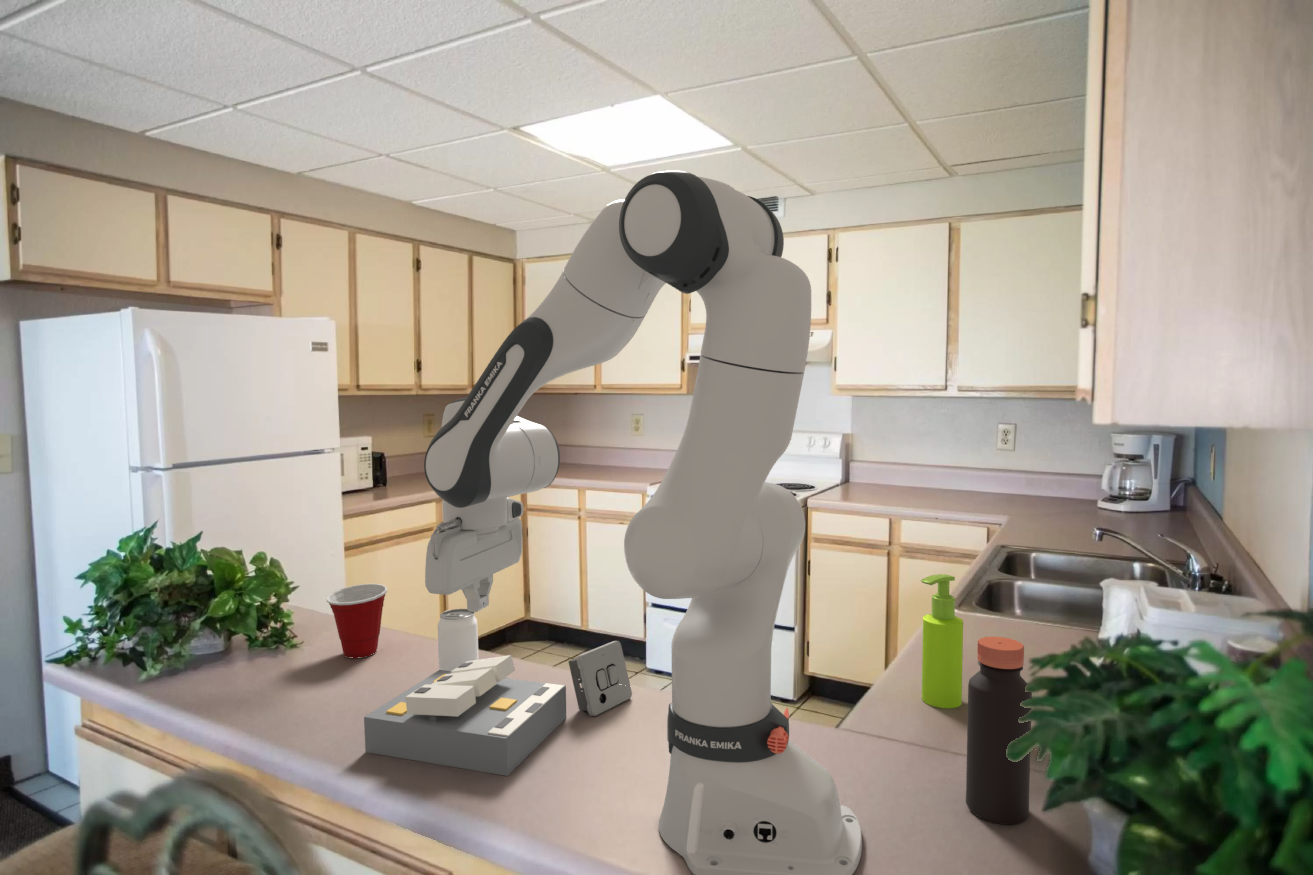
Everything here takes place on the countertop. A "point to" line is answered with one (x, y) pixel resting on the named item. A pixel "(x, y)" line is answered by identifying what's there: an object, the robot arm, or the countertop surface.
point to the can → (457, 638)
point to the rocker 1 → (440, 700)
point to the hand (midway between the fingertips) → (478, 609)
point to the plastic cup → (358, 617)
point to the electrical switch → (600, 678)
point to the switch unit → (470, 727)
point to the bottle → (997, 733)
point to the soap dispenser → (942, 648)
